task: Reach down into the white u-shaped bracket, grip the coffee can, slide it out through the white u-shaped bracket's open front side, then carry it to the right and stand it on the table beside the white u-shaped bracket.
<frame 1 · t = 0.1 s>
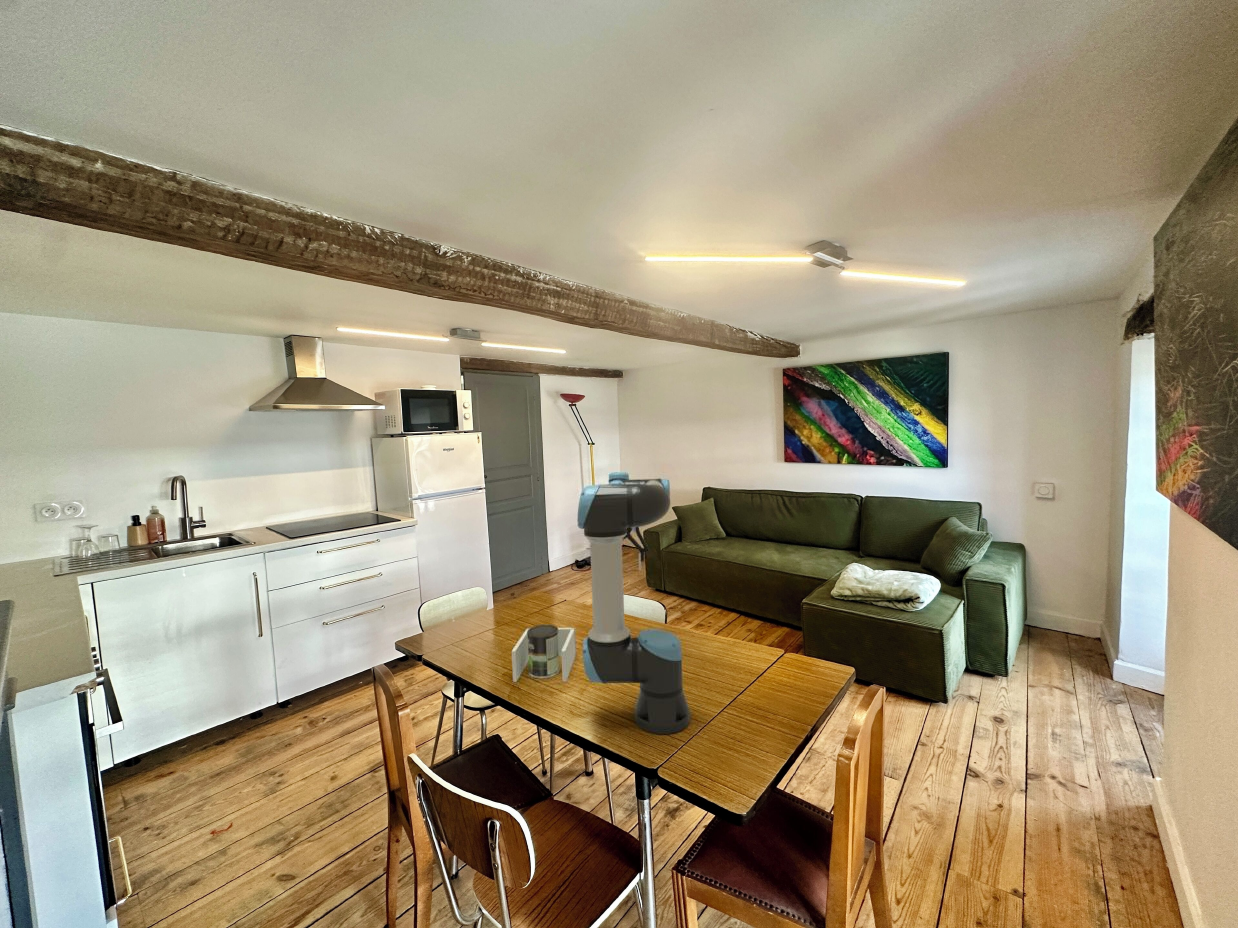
hand: (622, 570, 182), 28 cm above the table, fingers open, 13 cm apart
coffee can: (544, 671, 163), on the table
white u-shaped bracket: (545, 668, 165), on the table
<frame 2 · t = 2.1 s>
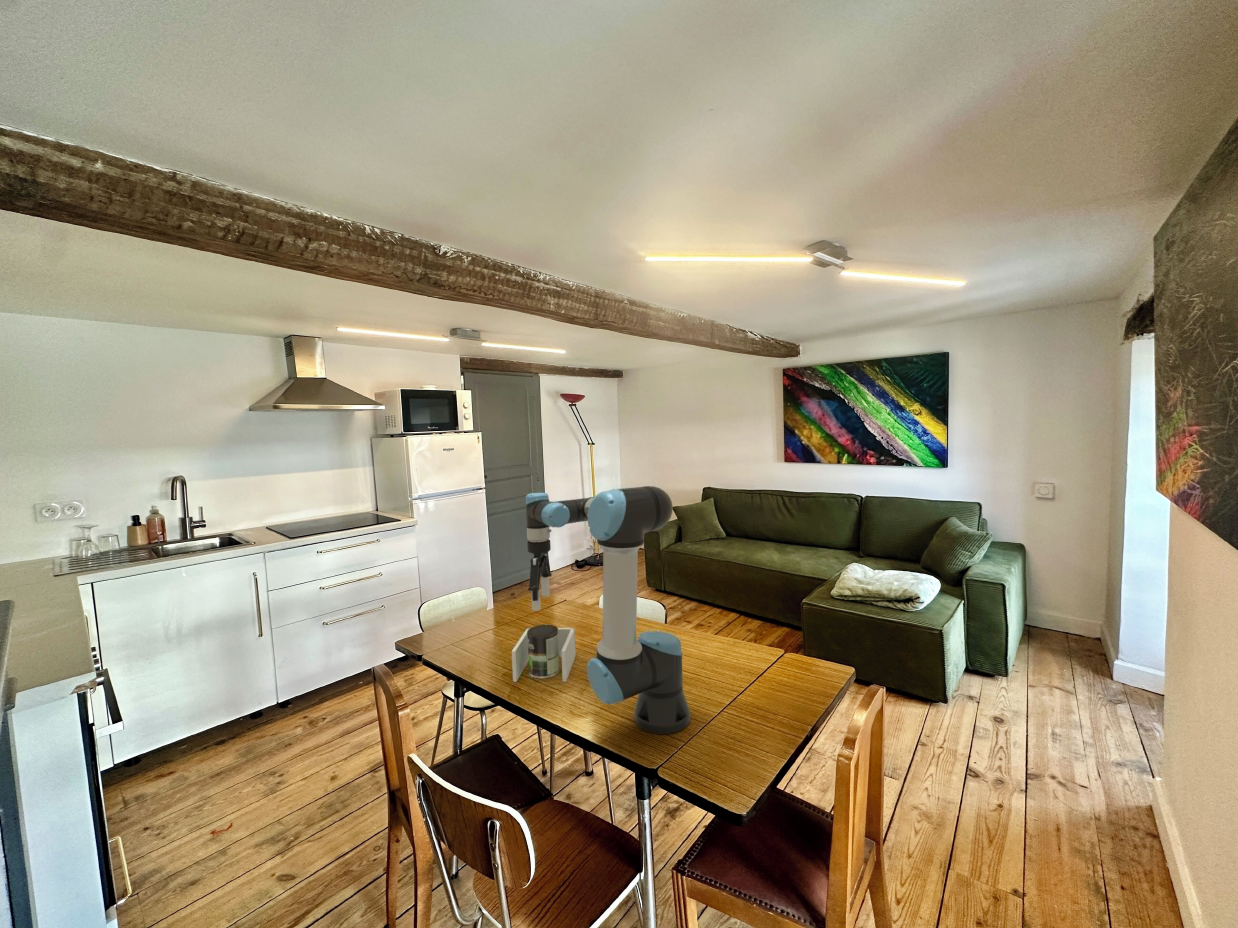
hand: (541, 602, 162), 23 cm above the table, fingers open, 13 cm apart
nothing on the table moved.
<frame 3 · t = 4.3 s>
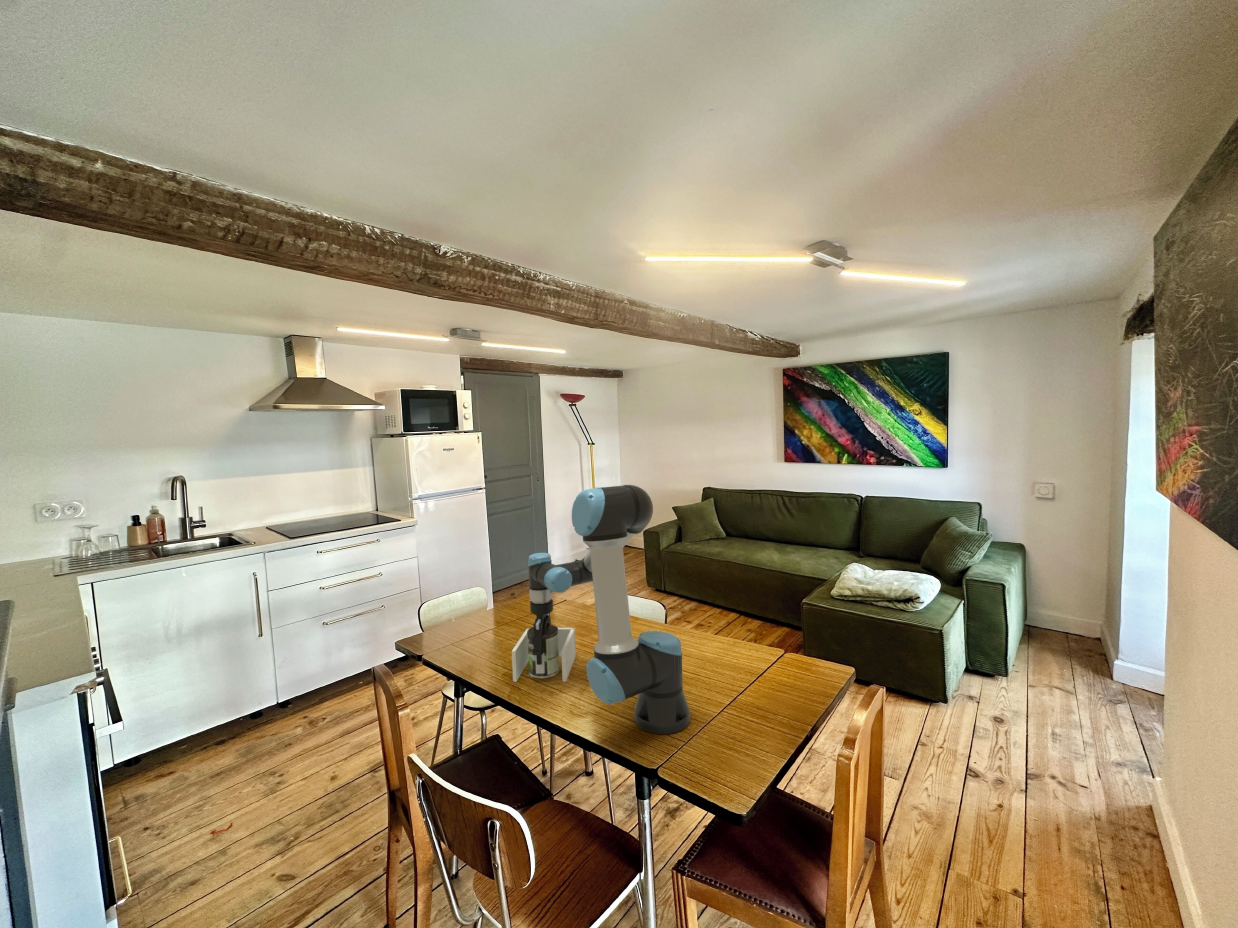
hand: (544, 665, 163), 2 cm above the table, fingers closed on coffee can, 10 cm apart
coffee can: (544, 671, 163), on the table, touching gripper
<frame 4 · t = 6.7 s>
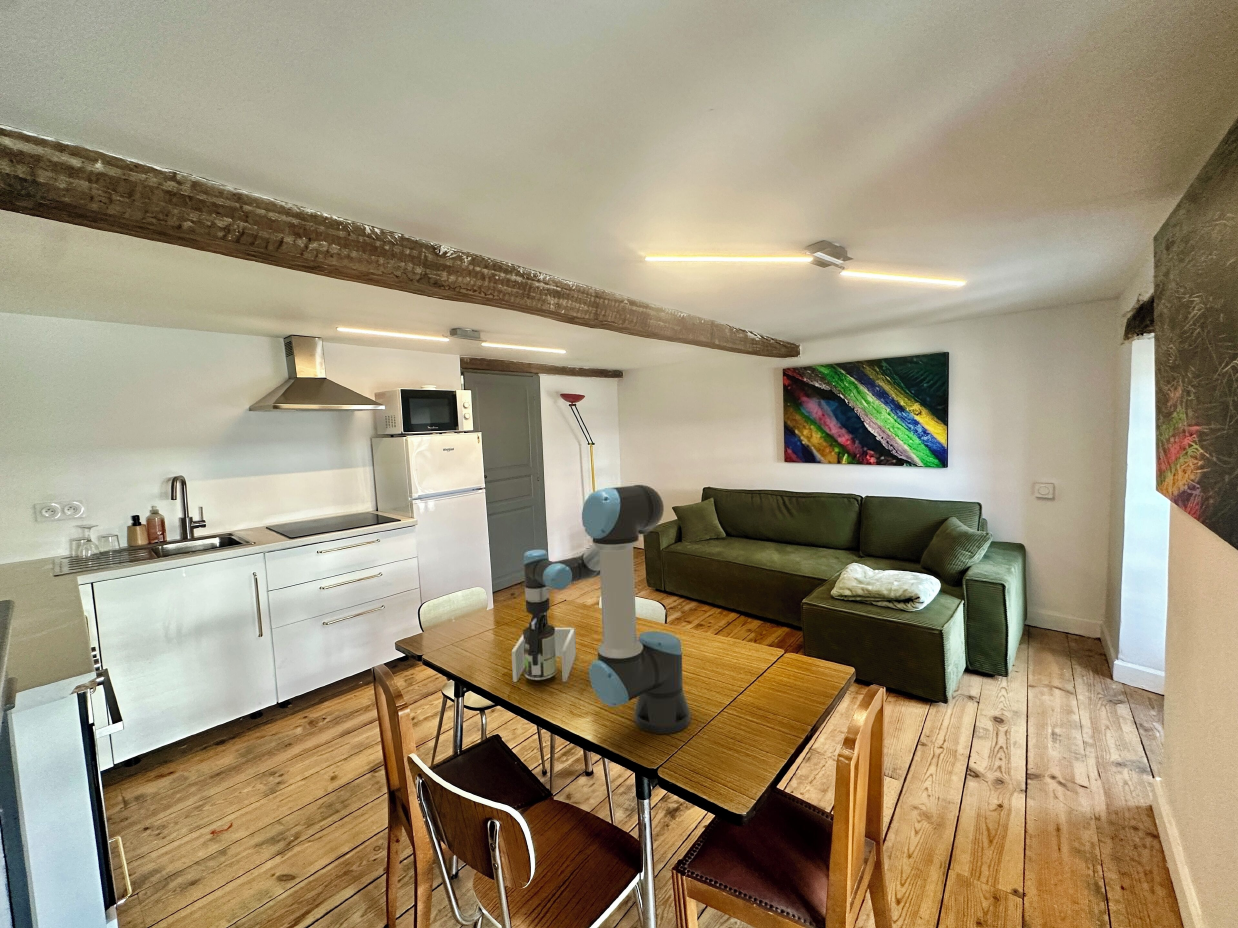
hand: (540, 666, 158), 4 cm above the table, fingers closed on coffee can, 10 cm apart
coffee can: (540, 673, 158), point 2 cm above the table, touching gripper
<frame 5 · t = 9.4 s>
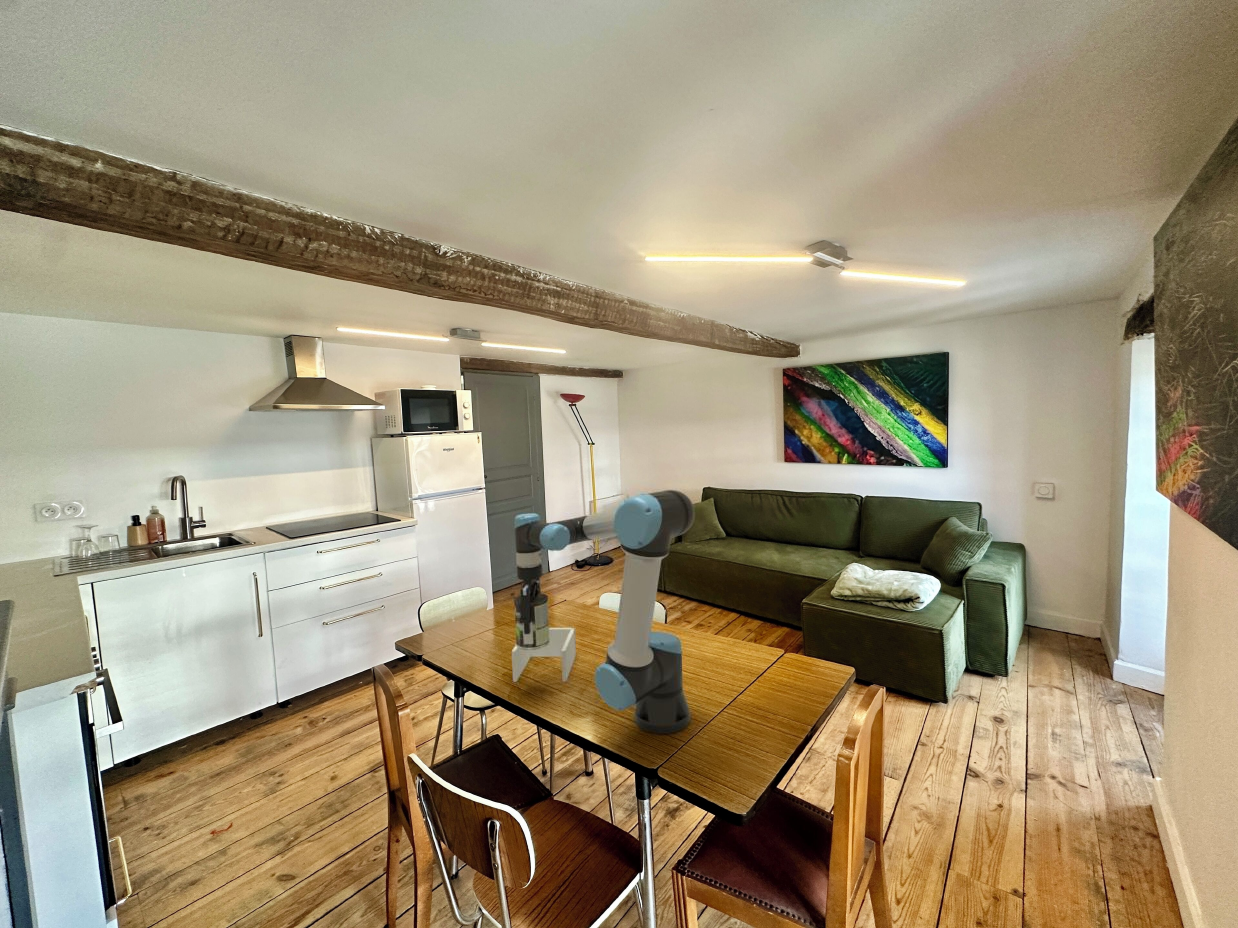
hand: (533, 636, 149), 17 cm above the table, fingers closed on coffee can, 10 cm apart
coffee can: (533, 643, 149), point 15 cm above the table, touching gripper
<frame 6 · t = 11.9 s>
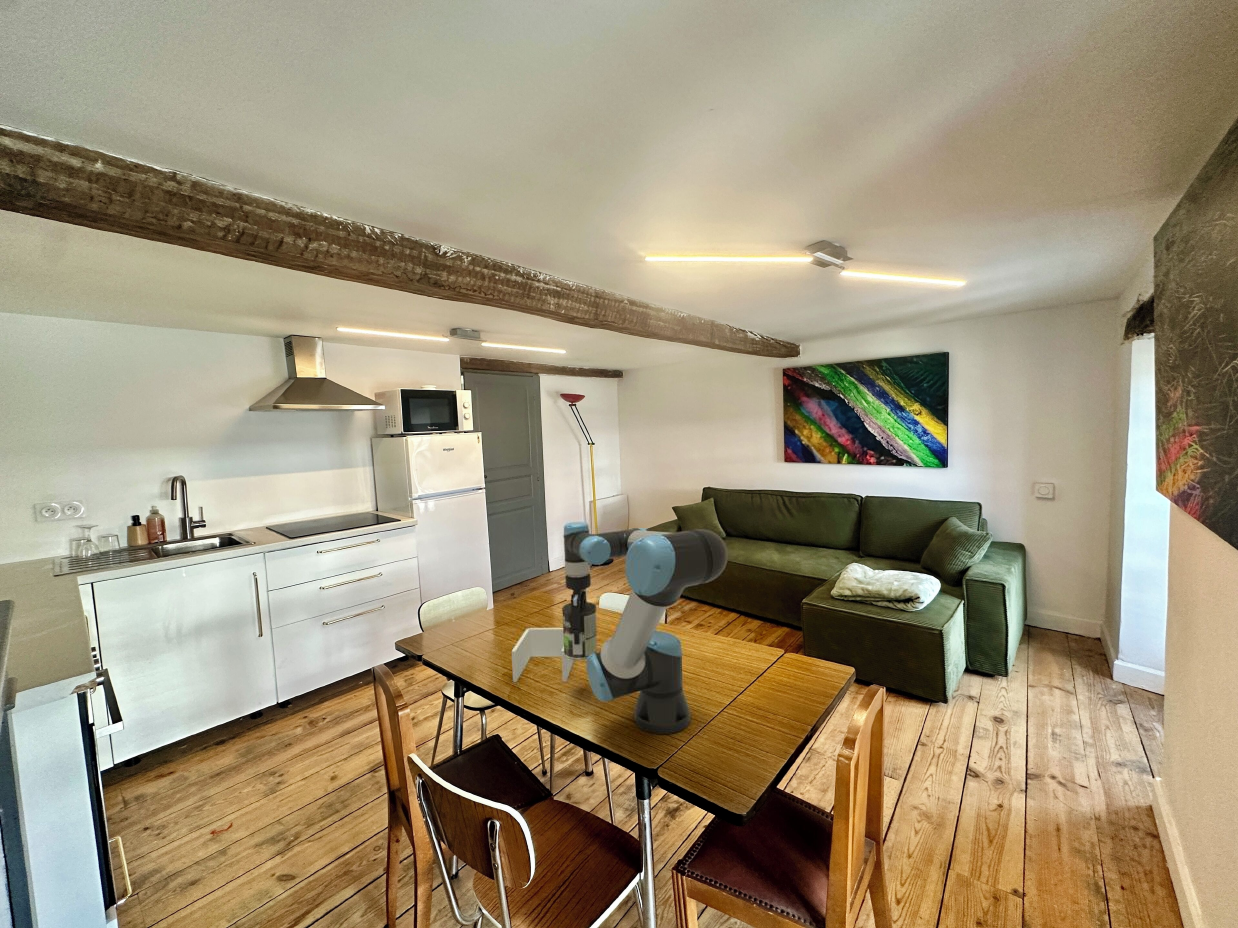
hand: (580, 646, 148), 15 cm above the table, fingers closed on coffee can, 10 cm apart
coffee can: (580, 653, 148), point 12 cm above the table, touching gripper
when the fingers open (3 cm above the table, at t = 14.3 s): coffee can drops 1 cm, on the table.
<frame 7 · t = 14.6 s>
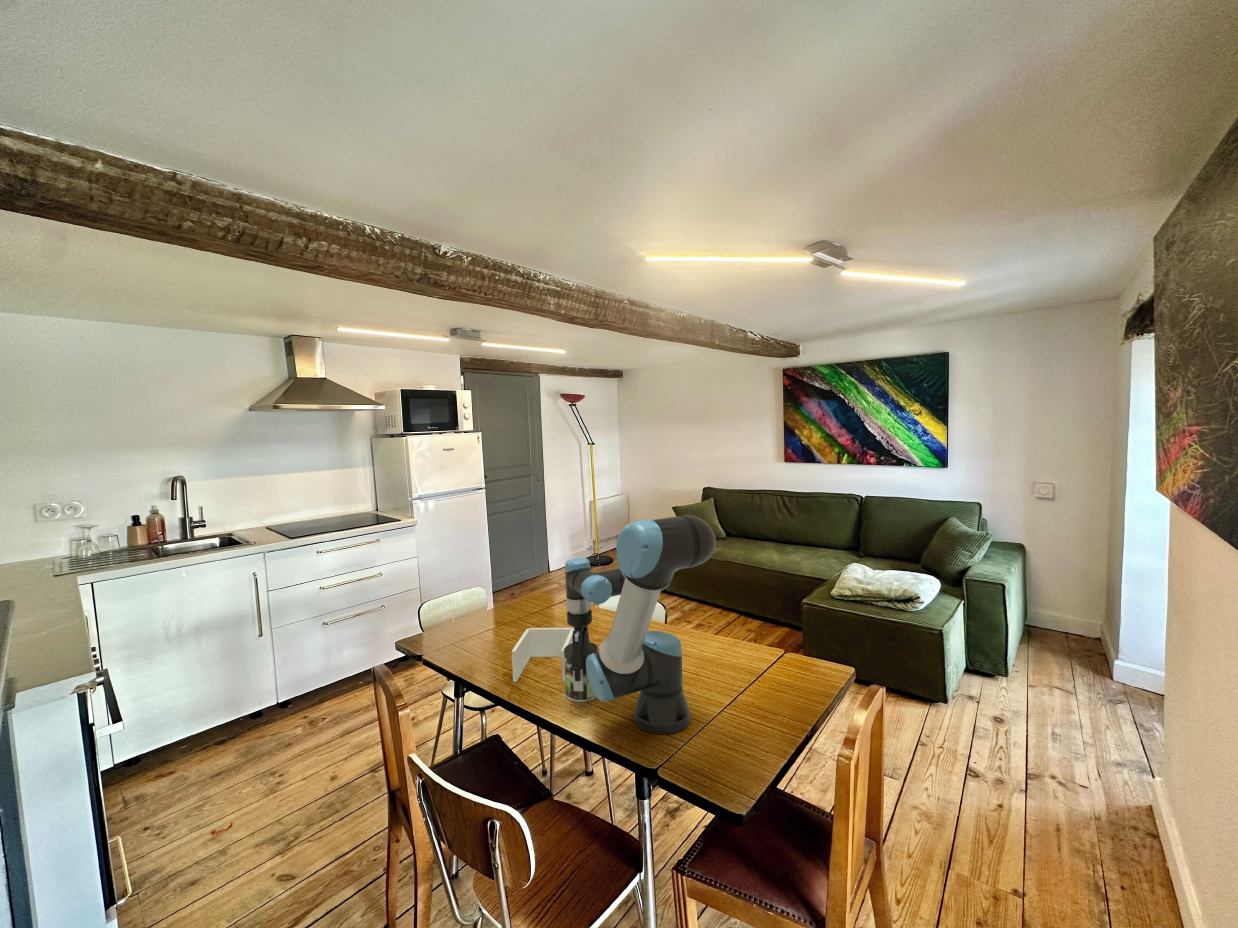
hand: (582, 679, 148), 4 cm above the table, fingers open, 13 cm apart
coffee can: (582, 694, 148), on the table
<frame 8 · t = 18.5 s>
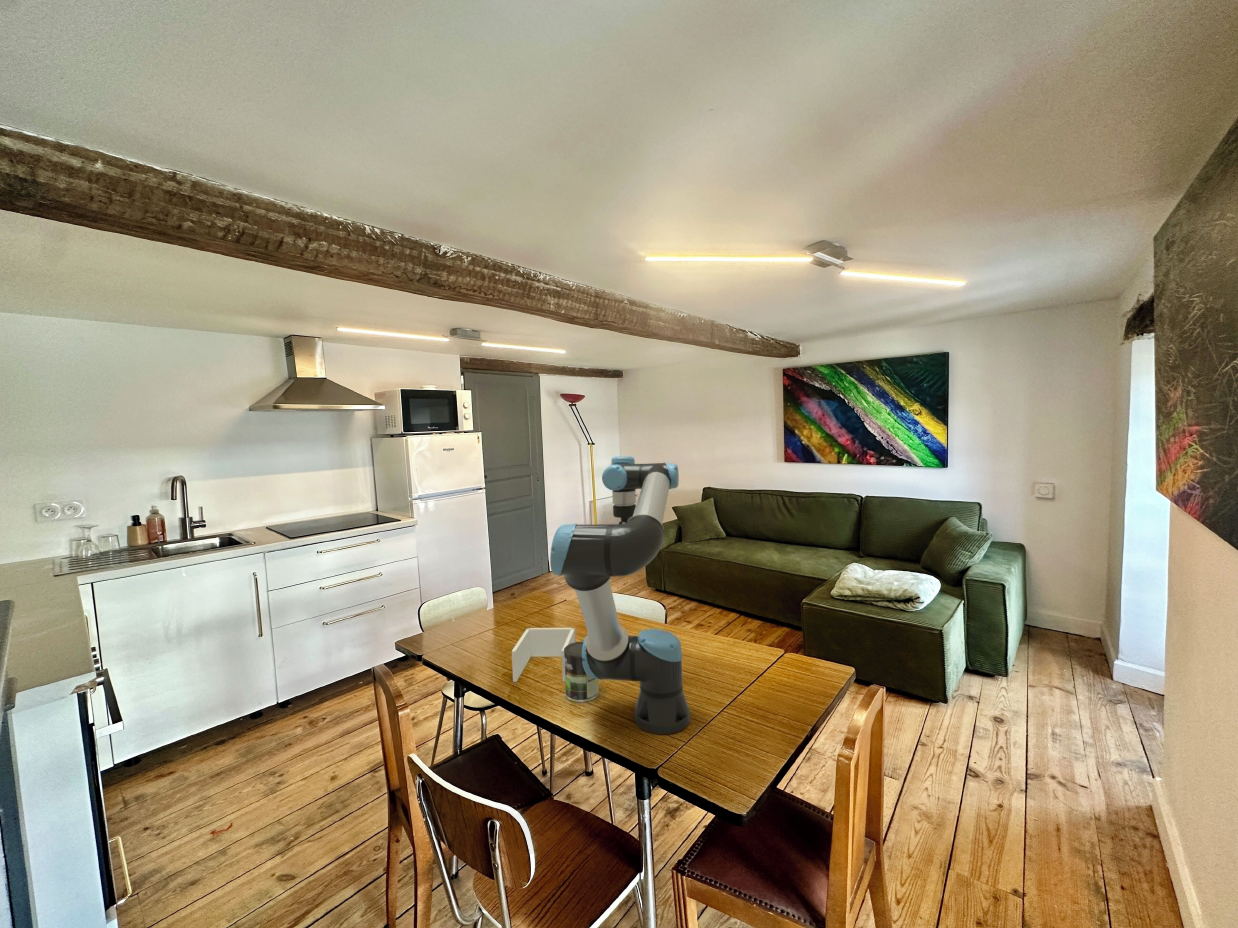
hand: (626, 569, 157), 35 cm above the table, fingers open, 13 cm apart
nothing on the table moved.
at the end: coffee can inside the target area (0.1 cm from its centre), on the table; coffee can tilted 0°; the gripper is holding nothing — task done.
